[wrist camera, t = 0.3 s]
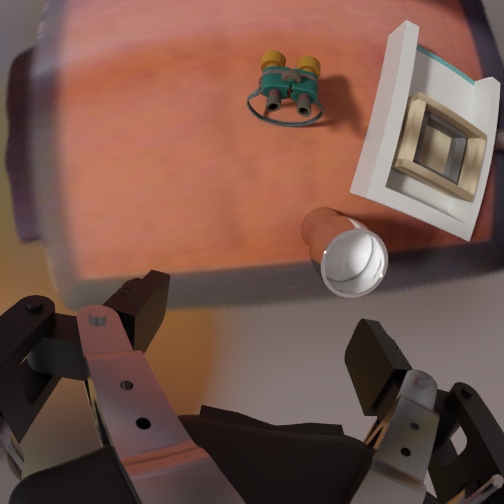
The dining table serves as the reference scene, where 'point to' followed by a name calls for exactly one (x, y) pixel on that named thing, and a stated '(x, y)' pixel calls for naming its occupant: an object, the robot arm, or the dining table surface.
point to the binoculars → (288, 86)
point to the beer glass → (344, 252)
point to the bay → (390, 121)
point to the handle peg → (499, 140)
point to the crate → (439, 148)
